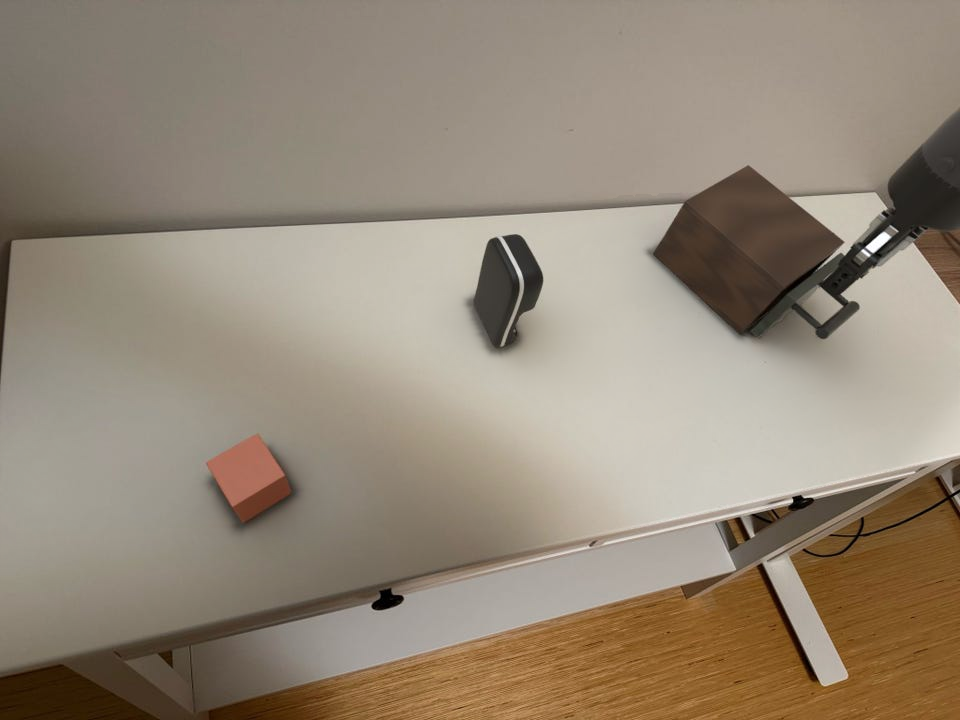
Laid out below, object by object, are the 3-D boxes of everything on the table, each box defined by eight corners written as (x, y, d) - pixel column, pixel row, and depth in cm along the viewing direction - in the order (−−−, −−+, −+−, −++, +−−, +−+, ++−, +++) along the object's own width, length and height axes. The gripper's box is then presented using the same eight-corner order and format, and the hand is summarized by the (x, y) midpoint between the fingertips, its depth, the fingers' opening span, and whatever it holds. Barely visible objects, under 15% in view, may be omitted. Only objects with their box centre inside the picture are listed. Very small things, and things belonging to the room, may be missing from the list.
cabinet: (797, 290, 75) (845, 241, 68) (739, 334, 70) (785, 287, 62) (712, 217, 80) (748, 164, 72) (652, 253, 75) (684, 200, 67)
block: (292, 493, 52) (285, 475, 48) (243, 523, 50) (232, 507, 46) (266, 453, 54) (257, 432, 50) (217, 481, 52) (205, 462, 48)
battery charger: (526, 342, 64) (553, 276, 55) (494, 351, 63) (516, 285, 54) (501, 293, 67) (523, 223, 58) (471, 300, 66) (488, 229, 57)
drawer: (841, 324, 72) (885, 287, 66) (790, 368, 67) (833, 333, 61) (728, 227, 78) (759, 186, 72) (674, 261, 73) (702, 220, 67)
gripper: (974, 220, 46) (828, 339, 61) (1036, 164, 52) (889, 285, 66) (893, 161, 48) (772, 289, 63) (961, 114, 54) (835, 242, 69)
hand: (832, 287), depth 65 cm, fingers closed
